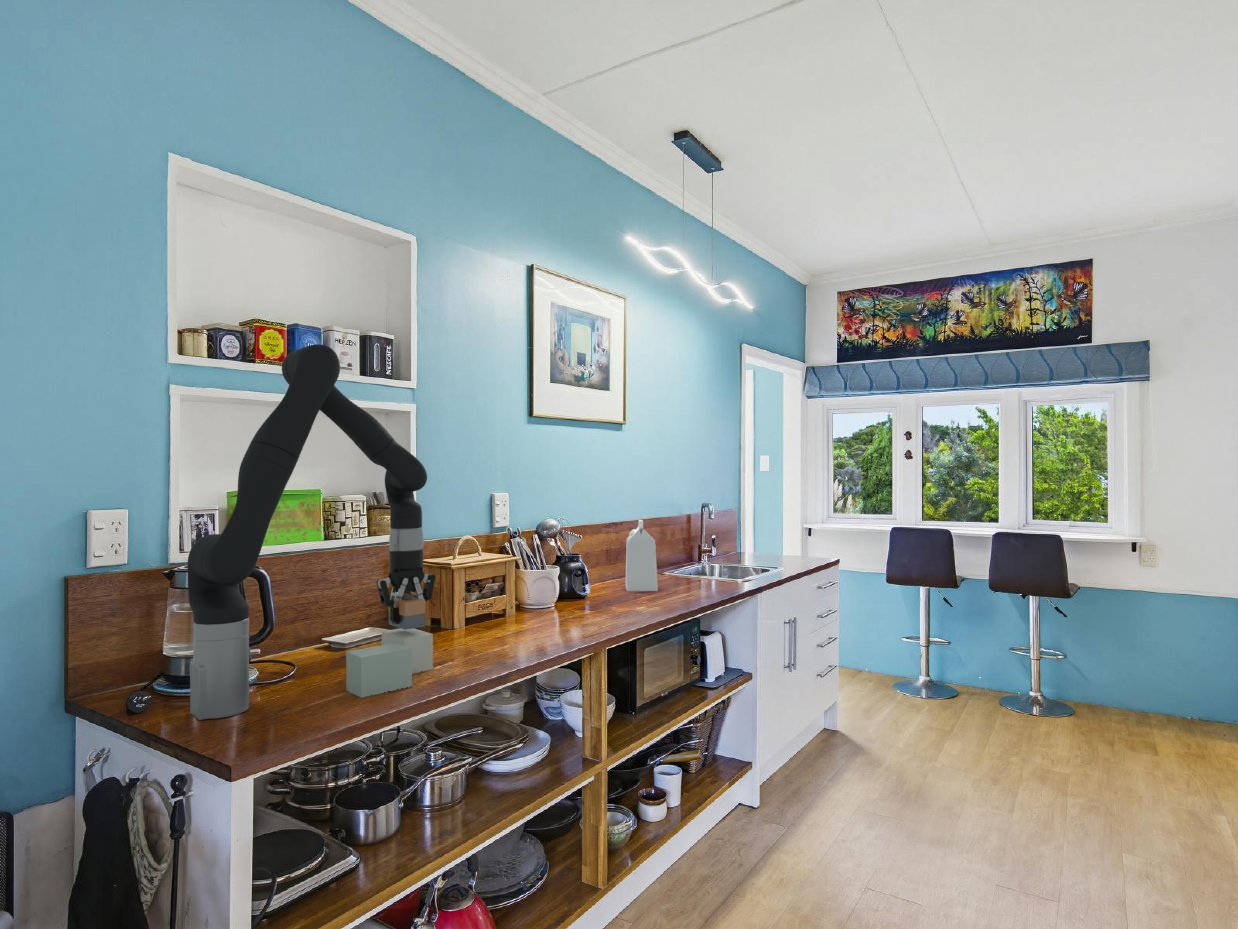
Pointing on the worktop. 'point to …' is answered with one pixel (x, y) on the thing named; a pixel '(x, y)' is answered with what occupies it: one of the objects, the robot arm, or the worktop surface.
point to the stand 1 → (378, 669)
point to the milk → (641, 561)
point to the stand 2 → (413, 646)
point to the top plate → (411, 605)
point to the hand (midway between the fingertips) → (406, 621)
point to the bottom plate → (410, 621)
